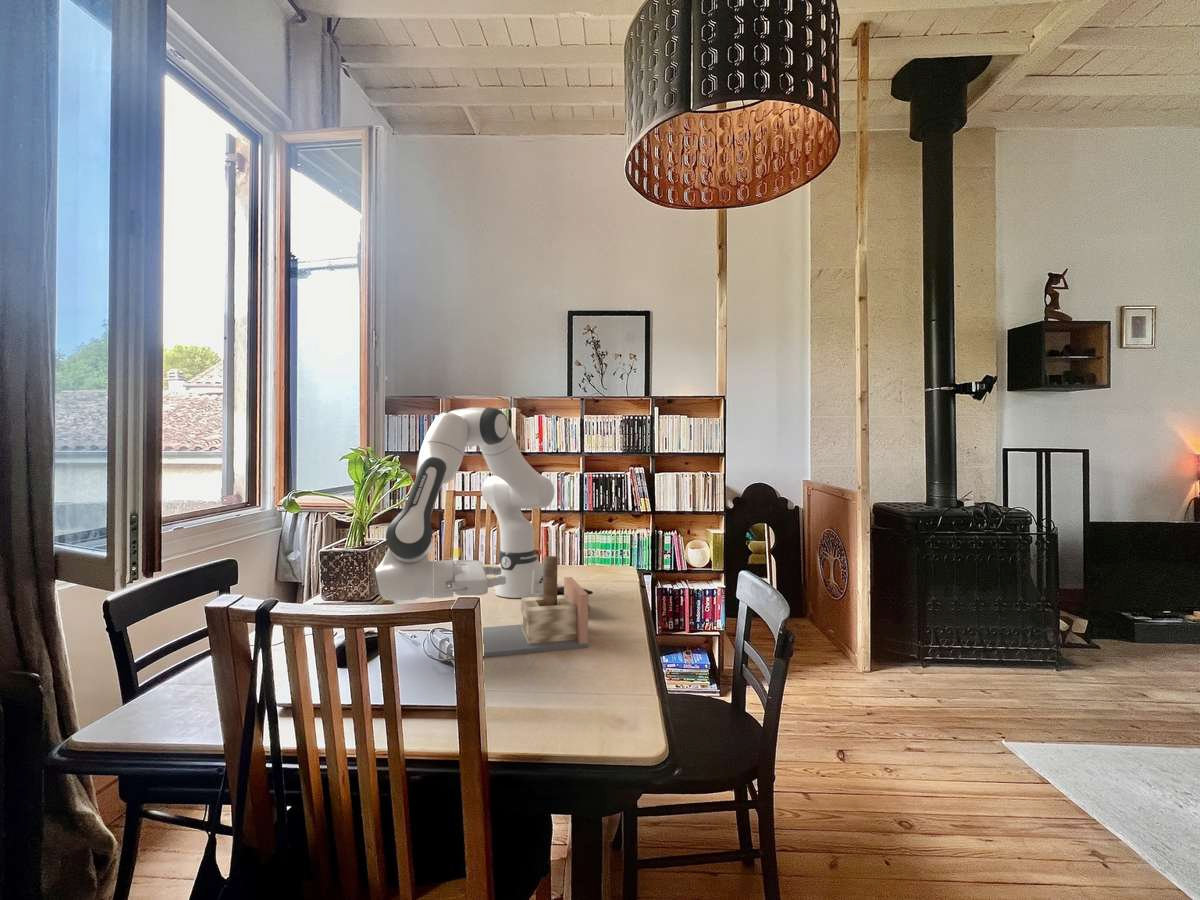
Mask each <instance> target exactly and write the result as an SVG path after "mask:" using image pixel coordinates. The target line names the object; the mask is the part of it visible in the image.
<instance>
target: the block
mask: <svg viewBox="0 0 1200 900" xmlns="http://www.w3.org/2000/svg"><path fill="white" fill-rule="evenodd" d="M520 600H521V603H520V604H521V607H520V608H521V611H520V612H521V616H520V617H521V619H520V620H521V622H520V625H521V629H522V631H523V633H524V635H525V637H526V640H527V642H528V644H533V643H544V642H555V641H566V640H576V637H577V607H576V606H575V605H574V604H573V602H572V601H571V600H570V599H569V598H568V596H567V595H557V605H552V606H543V595H542V596H539V597H523V598H521V599H520Z"/></svg>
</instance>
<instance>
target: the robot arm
mask: <svg viewBox="0 0 1200 900" xmlns="http://www.w3.org/2000/svg"><path fill="white" fill-rule="evenodd" d="M518 445H519V444H518V443H517V440H516V438H515V436H514V434H513V431H512V429H511V427H510V425H509V421H508V418H507V415H506V414H505V412H503V411H502V410H501V409H499V408H497V407H477V406H476V407H474V406H473V407H467V408H458V409H448V410H445V411H442V412H441V413H439V414H438V415H437V416H436V417H435V418H434V420H433V421H432V423H431V425H430V426H429V428H428V430H427V431H426V435H425V436H424V438H423V441H422V444H421V447H420V449H419V453H418V457H417V462H416V472H415V474H416V475H415V479H414V481H413V485H412V486H411V490H410V492H409V495H408V497H407V500H406V502H405V505H404V507H403V508H402V510H401V511H400V512H399V513H398V514H397V515H396V516H395V517H394V518H393V520H392V521H391V522H390V523H389V525H388V527H387V529H386V532H385V541H386V544H387V547H388V548H387V550H386V553H385V555H384V557H383V559H382V560H381V561H380V563H379V564H378V566H376V567H375V569H374V574H373V577H374V583H375V588H376V592H377V595H379V597H380V598H381V599H383V600H385V601H393V602H395V601H397V602H399V601H404V602H405V601H414V600H415V601H416V600H418V599H425V598H427V599H445V598H453V597H454V595H457V596H482V595H486V594H488V591H489V588H493V590H494V594H495V595H496V596H499V597H502V598H510V599H511V598H512V599H518V598H519V599H520V598H525V597H540V596H543V563H541V561H539V560H538V556H541V555H542V552H543V551H542V549H541V548H535V528H534V527H535V526H534V524H533V523H532V522H531V521H529V519H527V518H526V517H525V516H524V515H523V513H522V509H525V510H526V509H527V510H528V509H529V510H536V509H543V508H548V507H549V506H550V505H551V504H552V502H553V500H554V497H555V488H554V484H553V483H552V480H550V478H548V477H546V476H544V475H542V474H540V473H539V472H538V471H537V470H536V469H534V468H533V466H532V465H531V464H529V463H528V461H527V460H526V459H525V458H524V456H523V454H522V452H521V450H520V448H519V446H518ZM477 446H478V447H479V449H480V451H481V454H482V457H483V459H484V461H485V463H486V465H487V467H488V470H489V471H490V472H491V473H492V474H493V475H489V476H488V477H486V478H485V479H484V482H483V483H482V484H481V485H482V486H481V496H482V498H483V501H485V502H484V503H486V504H487V505H488V506H490V508H491V509H492V511H493V512H494V514H495V516H496V519H497V522H498V525H499V536H500V537H499V541H500V543H499V544H500V549H499V551H498V562H499V564H498V565H497V566H491V565H483V563H482V561H481V560H476V559H475V560H473V559H470V560H469V559H464V560H463V559H457V560H453V558H450V557H449V558H444V559H442V560H432V561H431V560H430V559H429V558H430V555H431V551H432V547H433V546H432V545H433V542H432V539H433V528H432V523H431V522H432V521H431V518H432V513H433V510H434V508H435V504H436V502H437V498H438V497H439V493H440V490H441V489H442V487H443V486H444V484H449V483H450V482H451V481H453V480H454V479H455V477H456V475H457V473H458V471H459V469H460V467H461V464H462V461H463V459H464V455H465V451H466V447H477ZM488 575H494V577H492V576H491V577H490V576H488ZM487 576H488V577H487Z"/></svg>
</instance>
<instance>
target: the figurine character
mask: <svg viewBox="0 0 1200 900" xmlns="http://www.w3.org/2000/svg"><path fill="white" fill-rule="evenodd" d="M583 589H584V590H585V591H586V592H587V593H588V596H589V595H592V594H594V593H593V591H592V590H588V589H586V588H583ZM557 595H564V586H562V587H557ZM589 612H590V604H589V603H588V613H589Z"/></svg>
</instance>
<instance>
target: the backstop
mask: <svg viewBox="0 0 1200 900" xmlns="http://www.w3.org/2000/svg"><path fill="white" fill-rule="evenodd" d="M563 579H564V580H563V582H564V583H563V587H564V595H567V596H568V598H569V599H570V600H571V601H572V602H573V604H574V605H575V606H576V607H577V637H576V640H566V641H555V642H544V643H533V644H528V642H527V640H526V637H525V635H524V633H523V631H522V629H521V624H511V625H500V626H499V625H498V626H485V627H482V628H483V644H484V657H483V658H488V657H487V656H491V657H501V656H509V655H510V656H511V655H519V654H520V655H521V654H522V655H523V654H531V653H532V654H533V653H539V652H540V653H541V652H551V651H560V650H561V651H563V650H572V649H581V648H582V649H583V648H589V612H588V604H589V595H588V593H587V592H586V591H585V590H584V589H585V588H584V587H582V586H581V585H580V584H579V583H578V582H577V581H576V580H575V579H574V578H573V577H572V576H566V577H564V578H563Z"/></svg>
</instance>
